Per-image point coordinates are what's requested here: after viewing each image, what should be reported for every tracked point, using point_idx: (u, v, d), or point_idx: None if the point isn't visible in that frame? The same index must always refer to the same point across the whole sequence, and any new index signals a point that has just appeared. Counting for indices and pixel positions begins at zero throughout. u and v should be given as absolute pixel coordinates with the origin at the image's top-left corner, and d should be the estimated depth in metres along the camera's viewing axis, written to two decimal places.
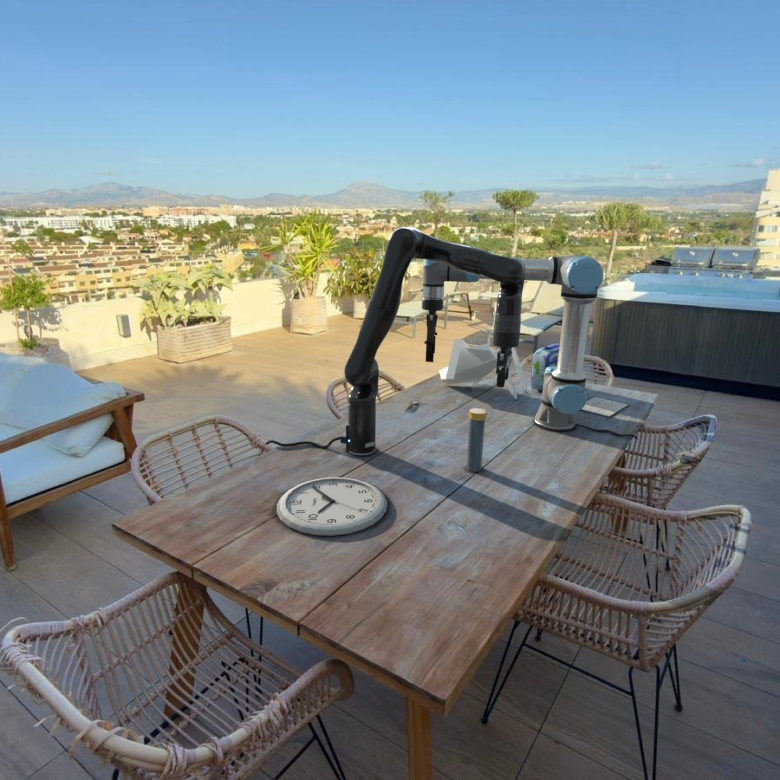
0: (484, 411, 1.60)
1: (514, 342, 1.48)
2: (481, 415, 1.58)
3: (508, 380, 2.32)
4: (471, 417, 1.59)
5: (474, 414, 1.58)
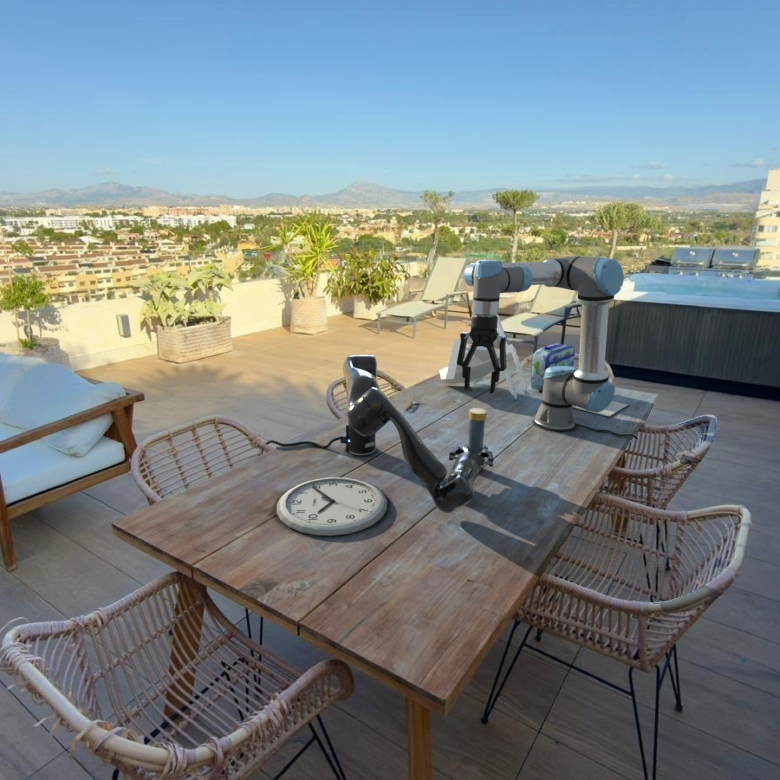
0: (484, 411, 1.60)
1: None
2: (481, 415, 1.58)
3: (508, 380, 2.32)
4: (471, 417, 1.59)
5: (474, 414, 1.58)
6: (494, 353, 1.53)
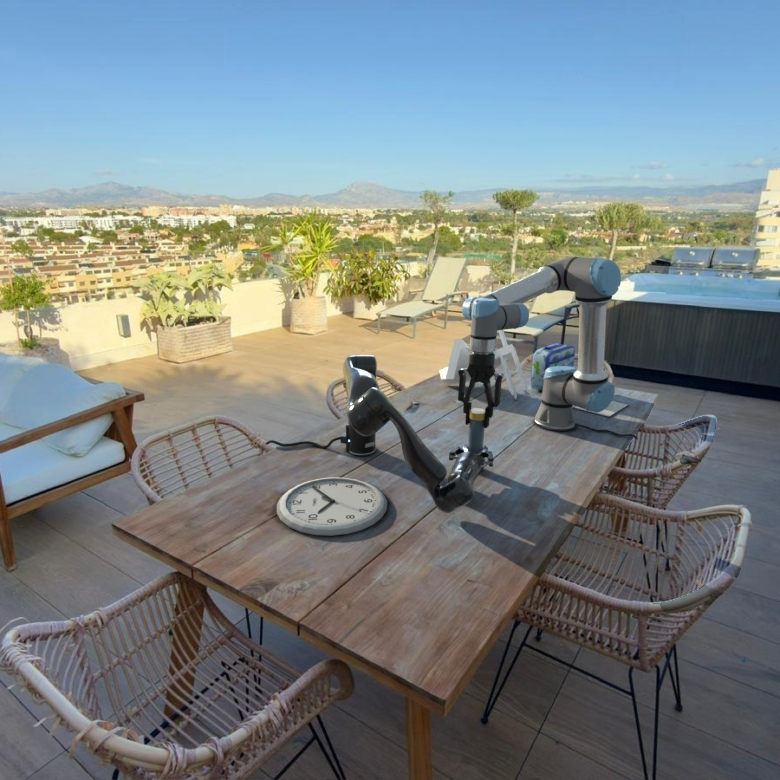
0: (484, 411, 1.60)
1: None
2: (481, 415, 1.58)
3: (508, 380, 2.32)
4: (471, 417, 1.59)
5: (474, 414, 1.58)
6: (489, 389, 1.56)
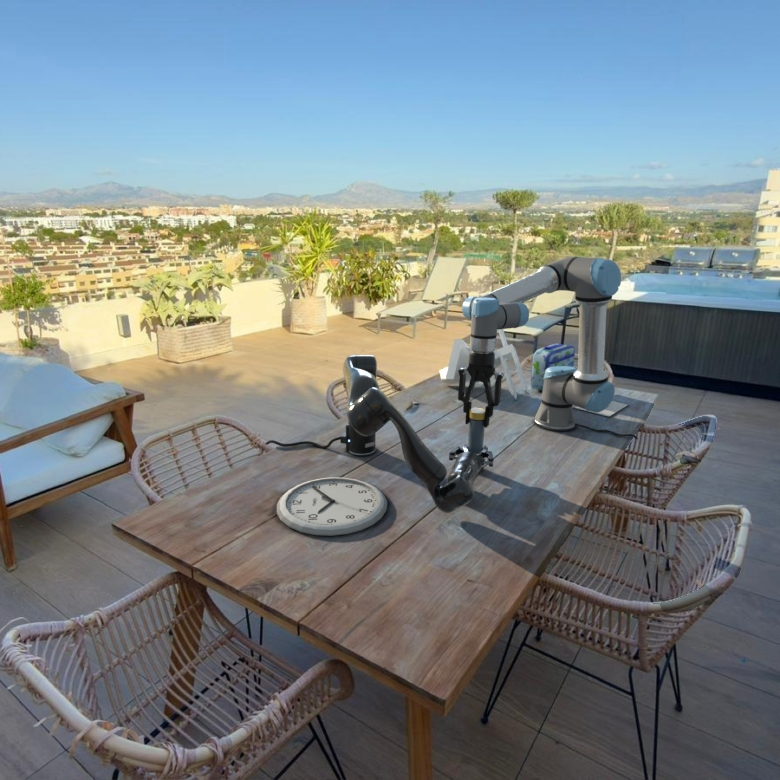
0: (479, 408, 1.62)
1: None
2: None
3: (508, 380, 2.32)
4: (482, 418, 1.58)
5: (484, 413, 1.58)
6: (490, 388, 1.56)
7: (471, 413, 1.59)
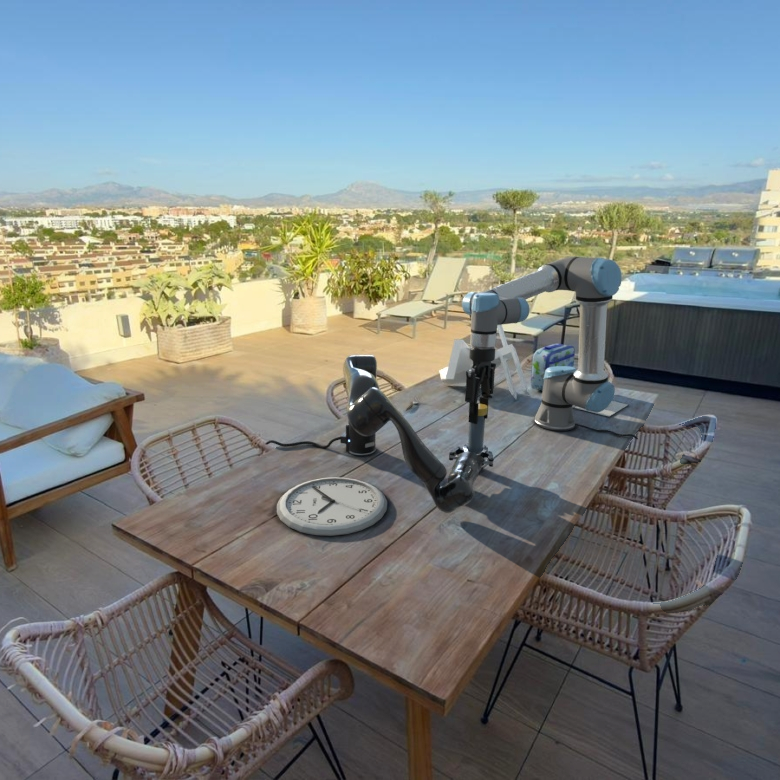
0: None
1: None
2: None
3: (508, 380, 2.32)
4: None
5: None
6: None
7: (482, 410, 1.58)
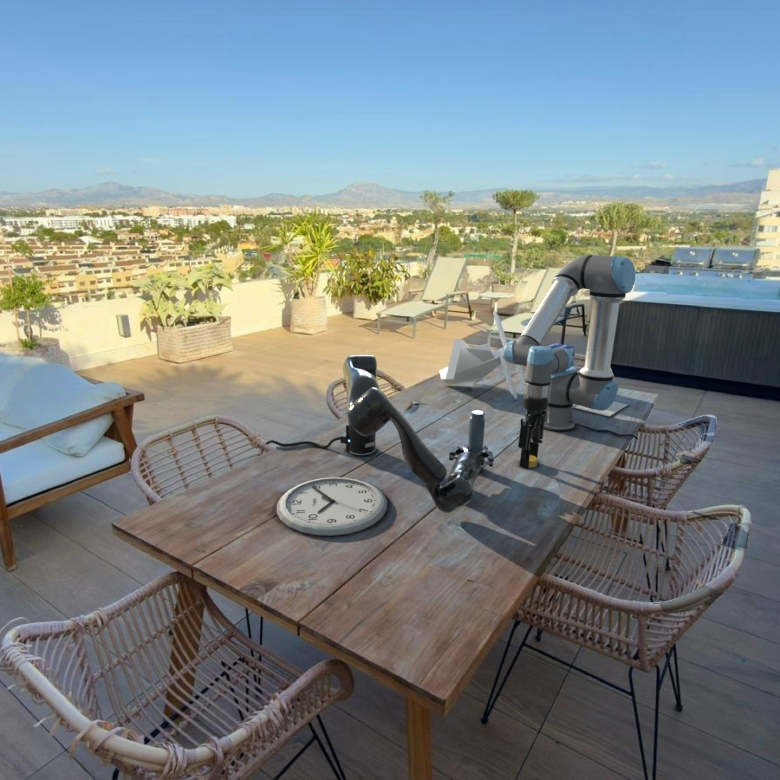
0: None
1: None
2: None
3: (508, 380, 2.32)
4: None
5: None
6: None
7: (533, 462, 1.67)
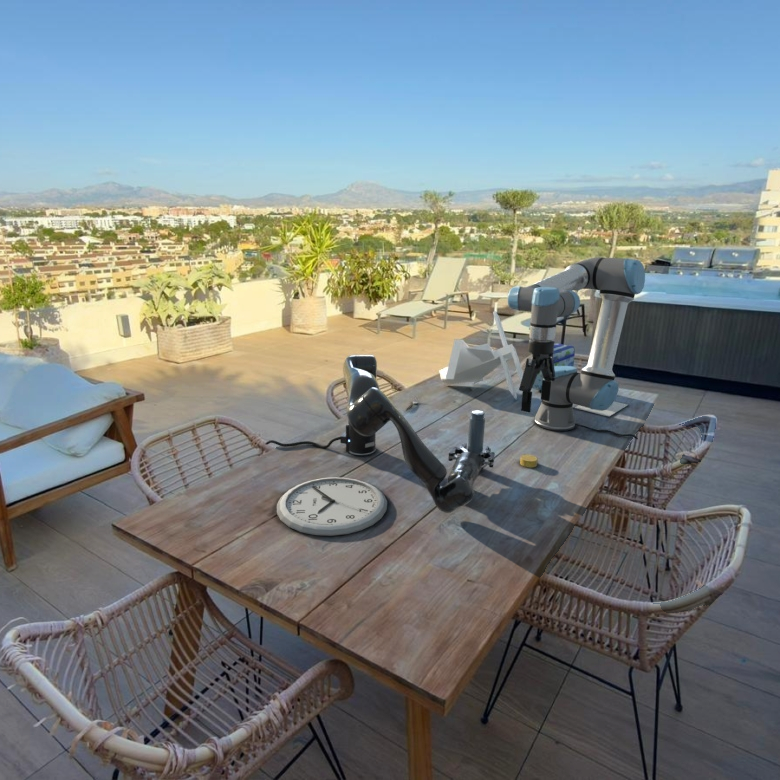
0: (523, 456, 1.70)
1: None
2: None
3: (508, 380, 2.32)
4: None
5: None
6: None
7: (533, 462, 1.67)
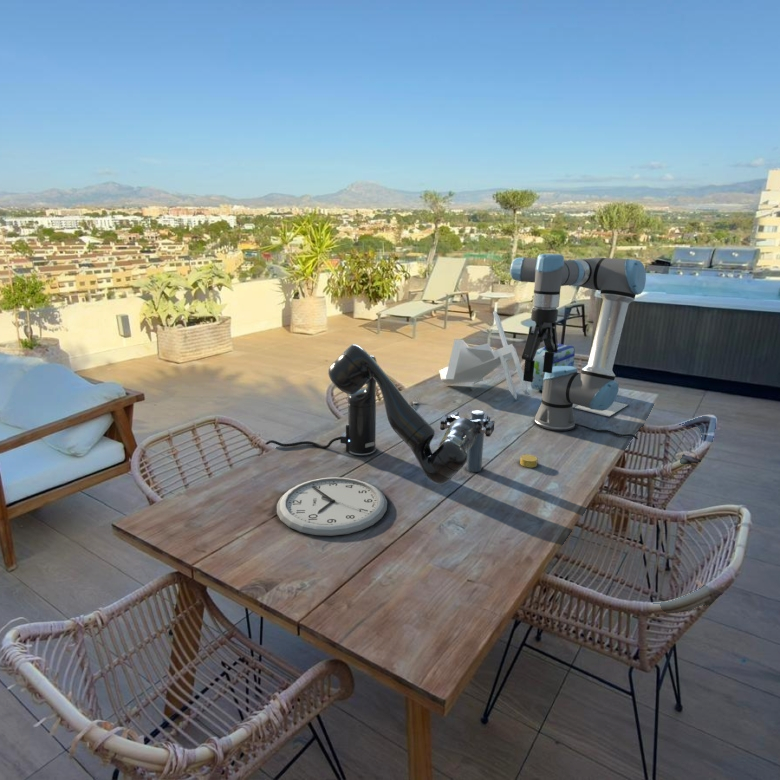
0: (523, 456, 1.70)
1: None
2: None
3: (508, 380, 2.32)
4: None
5: None
6: None
7: (533, 462, 1.67)
